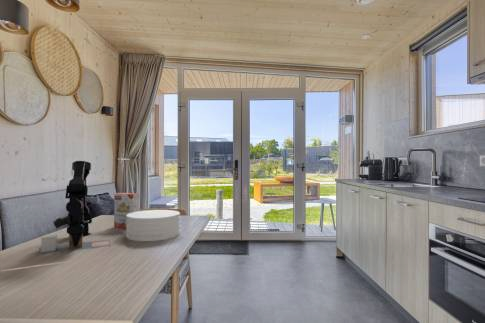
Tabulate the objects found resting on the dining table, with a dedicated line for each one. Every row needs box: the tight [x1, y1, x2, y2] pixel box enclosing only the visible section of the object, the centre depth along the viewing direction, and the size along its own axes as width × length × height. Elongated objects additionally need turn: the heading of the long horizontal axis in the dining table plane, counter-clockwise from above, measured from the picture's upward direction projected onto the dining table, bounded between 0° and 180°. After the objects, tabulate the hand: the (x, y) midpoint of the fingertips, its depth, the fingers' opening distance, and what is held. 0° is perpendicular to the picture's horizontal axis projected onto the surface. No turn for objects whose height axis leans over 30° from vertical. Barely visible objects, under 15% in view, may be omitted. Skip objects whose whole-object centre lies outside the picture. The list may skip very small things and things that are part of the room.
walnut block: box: [68, 234, 83, 249], centre depth 124 cm, size 5×5×6 cm
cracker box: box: [113, 192, 140, 229], centre depth 168 cm, size 14×6×21 cm, turn 73°
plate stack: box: [125, 209, 181, 242], centre depth 150 cm, size 28×28×12 cm
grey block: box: [40, 233, 58, 252], centre depth 120 cm, size 5×5×6 cm
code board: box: [35, 239, 111, 256], centre depth 124 cm, size 28×12×1 cm, turn 119°
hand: (75, 244), depth 124 cm, fingers open, 7 cm apart
